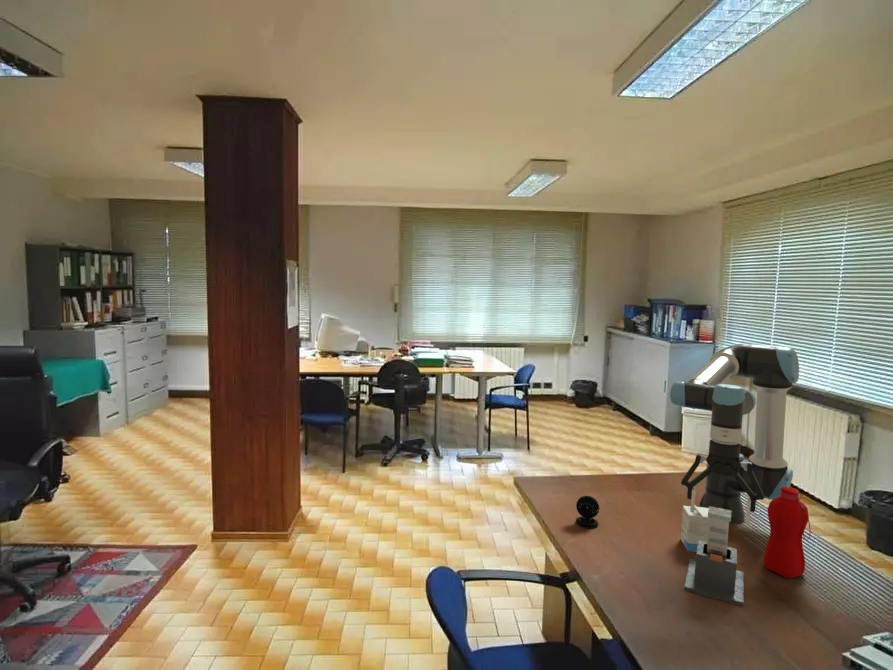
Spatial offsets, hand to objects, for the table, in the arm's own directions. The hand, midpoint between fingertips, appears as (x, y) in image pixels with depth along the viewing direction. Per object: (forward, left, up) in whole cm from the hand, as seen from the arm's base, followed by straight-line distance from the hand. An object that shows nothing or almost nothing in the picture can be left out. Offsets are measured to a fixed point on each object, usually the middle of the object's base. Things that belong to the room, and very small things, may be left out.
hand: (719, 516), depth 146 cm
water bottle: (-25, +5, -19) cm, 32 cm away
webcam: (+6, -44, -19) cm, 49 cm away
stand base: (0, 0, -19) cm, 19 cm away
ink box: (-15, -17, -19) cm, 30 cm away
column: (0, 0, -18) cm, 18 cm away
